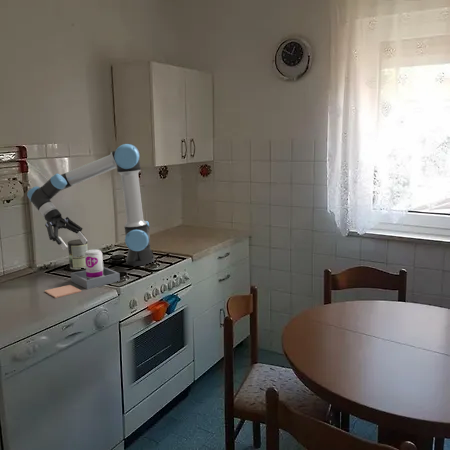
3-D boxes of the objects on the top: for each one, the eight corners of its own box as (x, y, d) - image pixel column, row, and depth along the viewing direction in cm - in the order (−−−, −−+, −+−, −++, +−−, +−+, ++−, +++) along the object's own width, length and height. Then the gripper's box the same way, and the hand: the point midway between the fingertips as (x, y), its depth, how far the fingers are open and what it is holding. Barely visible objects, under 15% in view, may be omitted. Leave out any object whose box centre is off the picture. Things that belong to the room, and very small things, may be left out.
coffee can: (65, 268, 254) (63, 242, 251) (79, 263, 263) (77, 238, 260) (80, 270, 249) (78, 244, 247) (93, 265, 258) (91, 240, 256)
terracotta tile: (70, 285, 224) (69, 284, 224) (81, 291, 215) (81, 290, 215) (44, 291, 216) (44, 290, 216) (55, 298, 207) (55, 296, 207)
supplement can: (99, 284, 225) (97, 253, 222) (83, 283, 227) (81, 252, 224) (107, 279, 233) (105, 249, 230) (91, 278, 235) (89, 248, 232)
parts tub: (103, 273, 242) (102, 266, 241) (120, 281, 229) (119, 273, 229) (71, 281, 231) (70, 273, 230) (87, 289, 218) (86, 280, 217)
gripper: (65, 214, 248) (90, 244, 244) (26, 222, 226) (53, 256, 222) (72, 204, 244) (97, 235, 241) (33, 212, 222) (60, 246, 219)
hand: (76, 245), depth 231 cm, fingers open, 13 cm apart
